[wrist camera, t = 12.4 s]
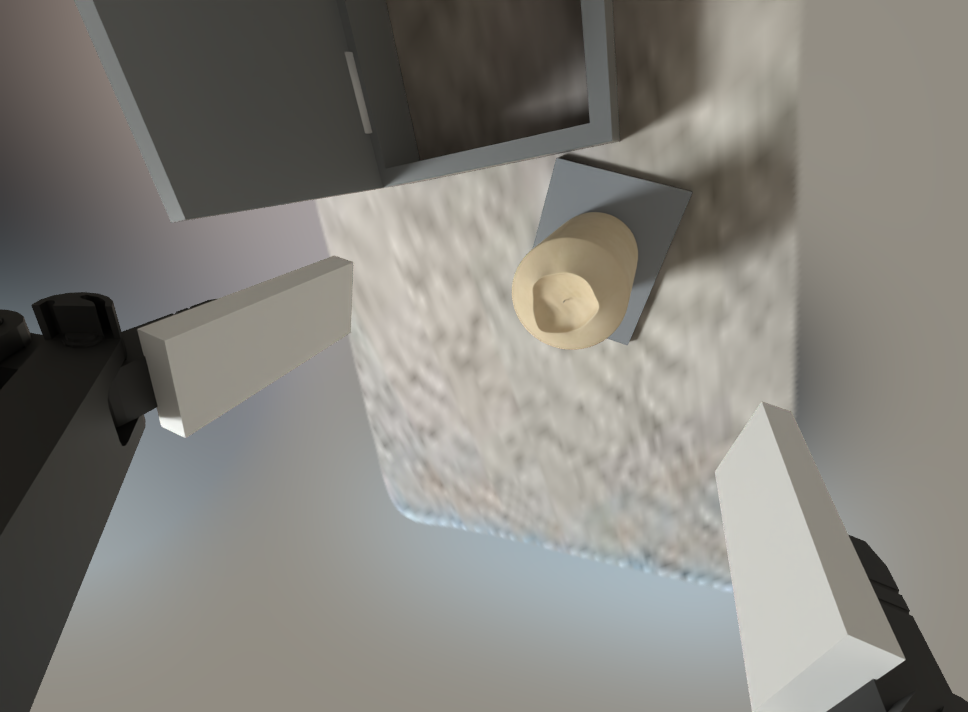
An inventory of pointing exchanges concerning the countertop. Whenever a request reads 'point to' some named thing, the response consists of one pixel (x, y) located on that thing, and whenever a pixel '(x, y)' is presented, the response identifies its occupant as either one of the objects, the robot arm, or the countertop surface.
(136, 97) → the case
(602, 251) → the candle
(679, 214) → the mat
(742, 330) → the countertop surface
